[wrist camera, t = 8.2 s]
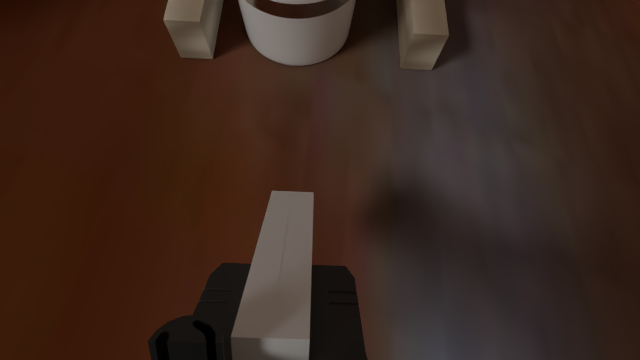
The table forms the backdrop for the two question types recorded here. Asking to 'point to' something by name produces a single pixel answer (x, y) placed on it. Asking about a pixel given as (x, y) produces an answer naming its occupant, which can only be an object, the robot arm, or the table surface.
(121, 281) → the table surface
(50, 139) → the table surface
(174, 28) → the cream wooden u-shaped piece
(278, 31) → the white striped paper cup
